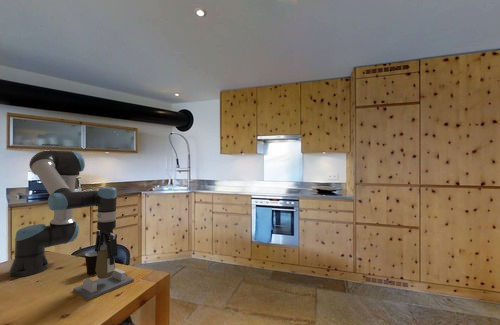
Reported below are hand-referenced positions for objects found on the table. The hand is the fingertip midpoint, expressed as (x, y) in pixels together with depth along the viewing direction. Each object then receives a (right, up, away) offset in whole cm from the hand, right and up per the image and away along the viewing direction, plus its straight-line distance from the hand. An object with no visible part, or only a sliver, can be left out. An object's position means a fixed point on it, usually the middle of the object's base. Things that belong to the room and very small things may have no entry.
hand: (105, 269), depth 111 cm
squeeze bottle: (0, -3, 0) cm, 3 cm away
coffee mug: (-14, -8, +15) cm, 22 cm away
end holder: (0, -8, 0) cm, 8 cm away
